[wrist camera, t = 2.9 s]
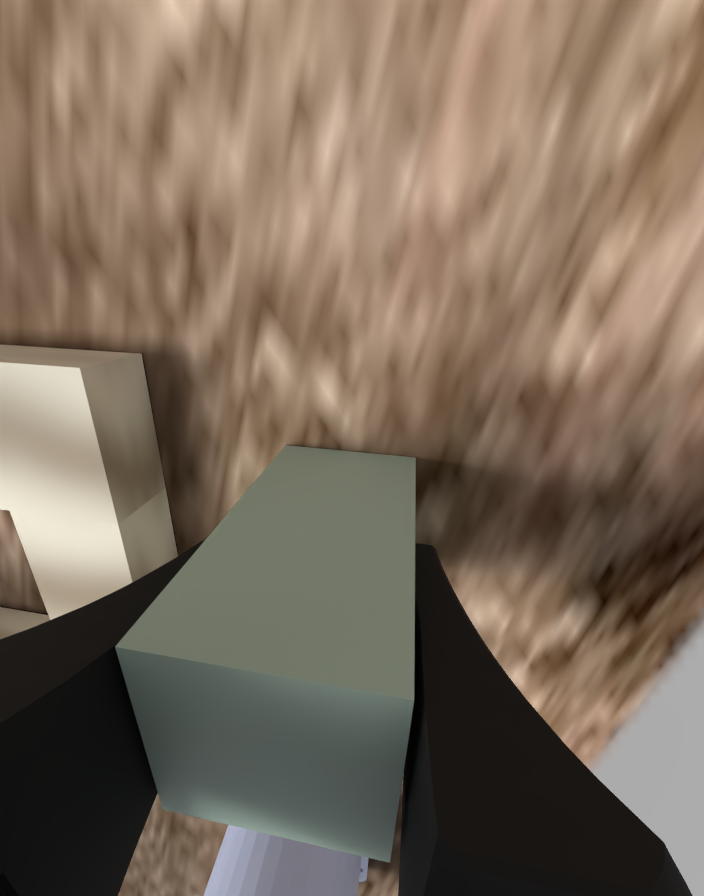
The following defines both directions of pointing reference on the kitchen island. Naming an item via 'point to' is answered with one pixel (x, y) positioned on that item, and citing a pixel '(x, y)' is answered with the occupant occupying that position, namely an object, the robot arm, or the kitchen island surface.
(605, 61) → the kitchen island surface
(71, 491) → the board with square hole
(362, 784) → the peg
